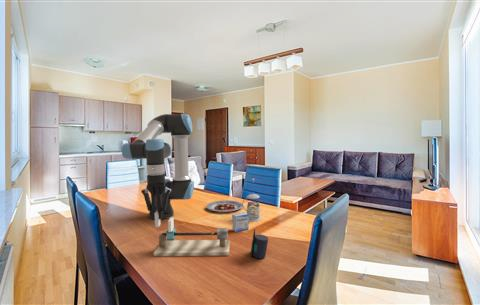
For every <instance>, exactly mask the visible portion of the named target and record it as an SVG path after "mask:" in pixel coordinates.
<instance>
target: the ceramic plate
mask: <svg viewBox="0 0 480 305" xmlns="http://www.w3.org/2000/svg"><path fill="white" fill-rule="evenodd" d="M242 203H243V202H241V201H237V200H227V199H226V200H223V199H222V200H217V201H213V202H210V203H208V204H207V205H206V208H207V209H208V210H210V211H214V212H218V213H219V212H220V213H228V212H234V211H237V210H241V209H243V208H244V207H243V206H244V205H243V206H242Z"/></svg>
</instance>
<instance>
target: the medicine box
mask: <svg viewBox="0 0 480 305" xmlns="http://www.w3.org/2000/svg"><path fill="white" fill-rule="evenodd" d="M231 218H232V219H231V222H232V226H231V227H232V228H231V229H232V230H233V232H235V233H239V232H240V233H241V232H243V231H244V232H245V231H249V226H250V225H249V222H250V221H249V219H248V214H247V212H239V213H233V214H231Z"/></svg>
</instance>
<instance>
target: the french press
mask: <svg viewBox="0 0 480 305" xmlns="http://www.w3.org/2000/svg"><path fill="white" fill-rule="evenodd" d="M251 181H252V182H254V181H256V180H255V178H251ZM257 199H260V195H259V194H256V193H250V194H248V195H247V196H246V198H244V200H242V202H241V203H242V206H243V207H242V209H244V210H245V211H246V213H247V214H248V219H249V222H259V221H261V220H262V217H261V216H260V214H261V213H260V212H261V206H260V202H258V201H254V200H257ZM248 200H252V201H249V202H248ZM245 201H247V205H246V208H245V206H244V202H245Z"/></svg>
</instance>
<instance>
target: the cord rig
mask: <svg viewBox="0 0 480 305" xmlns="http://www.w3.org/2000/svg"><path fill="white" fill-rule="evenodd" d="M174 236H176V237H178V236H179V237H181V236H184V237H186V236H193V237H194V236H216V239H182V240H181V239H179V240H178V239H177V240H176V239H174V241H167V233H166V232H161V233H159V235H158V247H157V248H155V250H154V251H153V257H186V256H187V257H190V256H191V257H201V256H203V257H205V256H206V257H210V256H211V257H212V256H215V257H217V256H221V257H222V256H227V257H228V256H229V255H230V245H231V240H230V239H228V236H229V235H228V228H226V227H225V228H221V227H219V228H217V230H216V232H215V231H212V232H211V231H210V232H176V233H174Z"/></svg>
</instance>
